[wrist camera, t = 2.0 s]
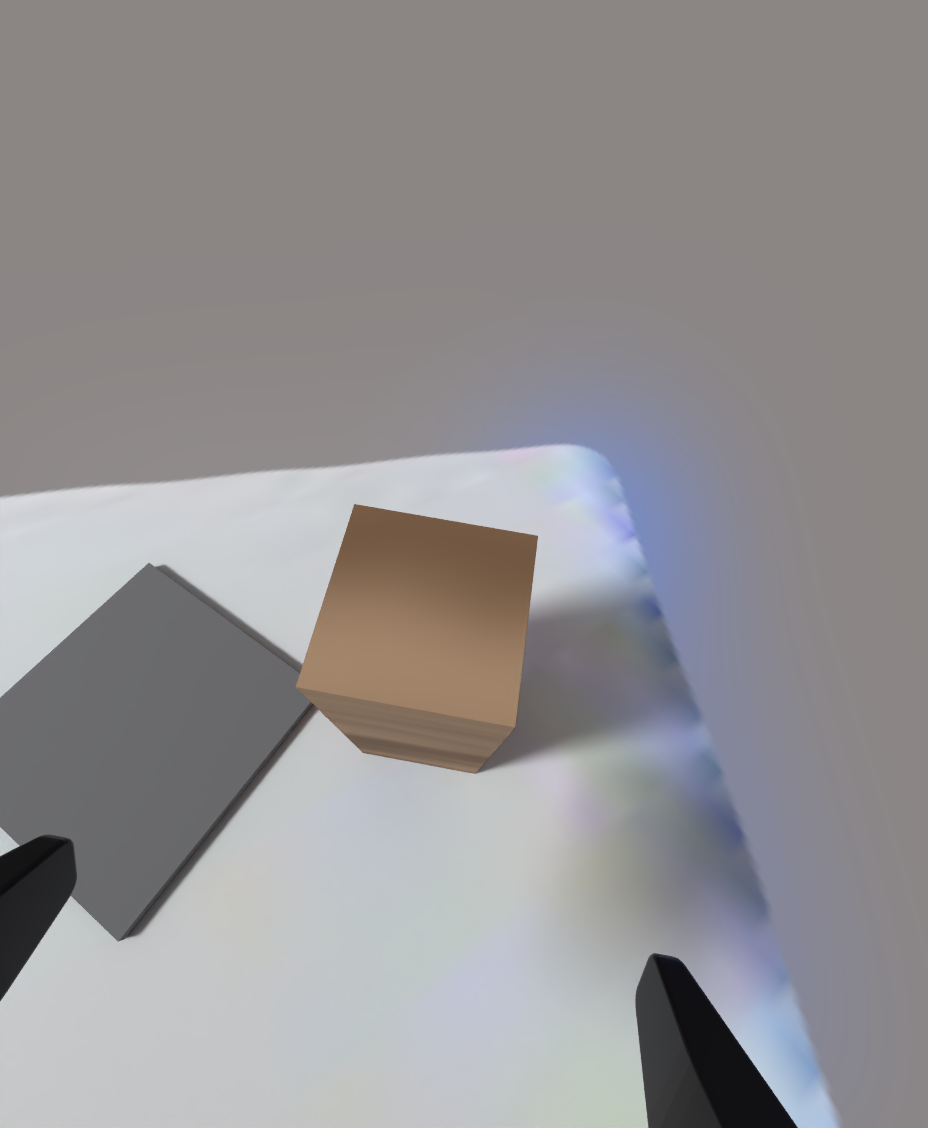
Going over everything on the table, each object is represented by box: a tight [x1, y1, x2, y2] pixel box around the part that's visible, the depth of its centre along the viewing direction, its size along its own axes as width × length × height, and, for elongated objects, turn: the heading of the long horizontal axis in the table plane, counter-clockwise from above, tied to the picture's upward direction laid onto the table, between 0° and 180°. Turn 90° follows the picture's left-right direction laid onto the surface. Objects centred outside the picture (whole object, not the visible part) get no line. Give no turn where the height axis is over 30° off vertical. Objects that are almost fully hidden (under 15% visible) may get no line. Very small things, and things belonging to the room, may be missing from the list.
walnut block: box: [296, 504, 538, 774], centre depth 16 cm, size 4×4×11 cm
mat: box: [0, 563, 313, 941], centre depth 20 cm, size 10×10×1 cm
